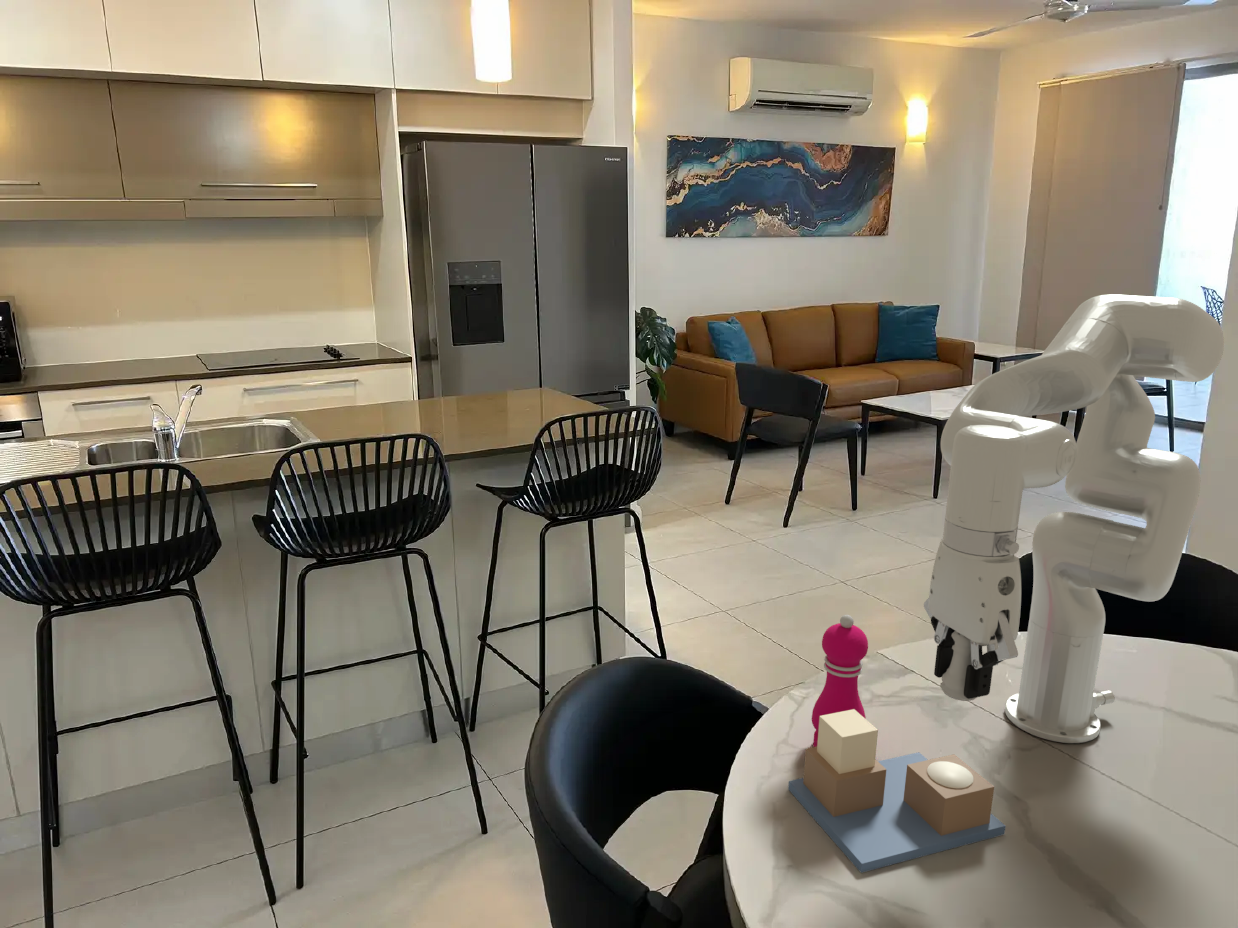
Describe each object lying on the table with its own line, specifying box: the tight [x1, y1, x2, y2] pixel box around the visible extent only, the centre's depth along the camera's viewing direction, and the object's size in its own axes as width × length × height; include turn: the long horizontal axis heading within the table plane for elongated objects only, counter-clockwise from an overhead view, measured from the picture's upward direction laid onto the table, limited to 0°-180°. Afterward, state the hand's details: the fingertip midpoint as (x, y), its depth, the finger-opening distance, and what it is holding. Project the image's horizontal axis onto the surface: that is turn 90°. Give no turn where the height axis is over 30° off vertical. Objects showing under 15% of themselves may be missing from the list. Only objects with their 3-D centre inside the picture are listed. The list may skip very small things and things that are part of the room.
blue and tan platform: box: [787, 709, 1006, 874], centre depth 107 cm, size 20×16×11 cm
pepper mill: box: [811, 614, 869, 747], centre depth 119 cm, size 7×7×20 cm
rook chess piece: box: [939, 631, 978, 702], centre depth 102 cm, size 4×4×8 cm
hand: (961, 683), depth 103 cm, fingers closed on rook chess piece, 4 cm apart
